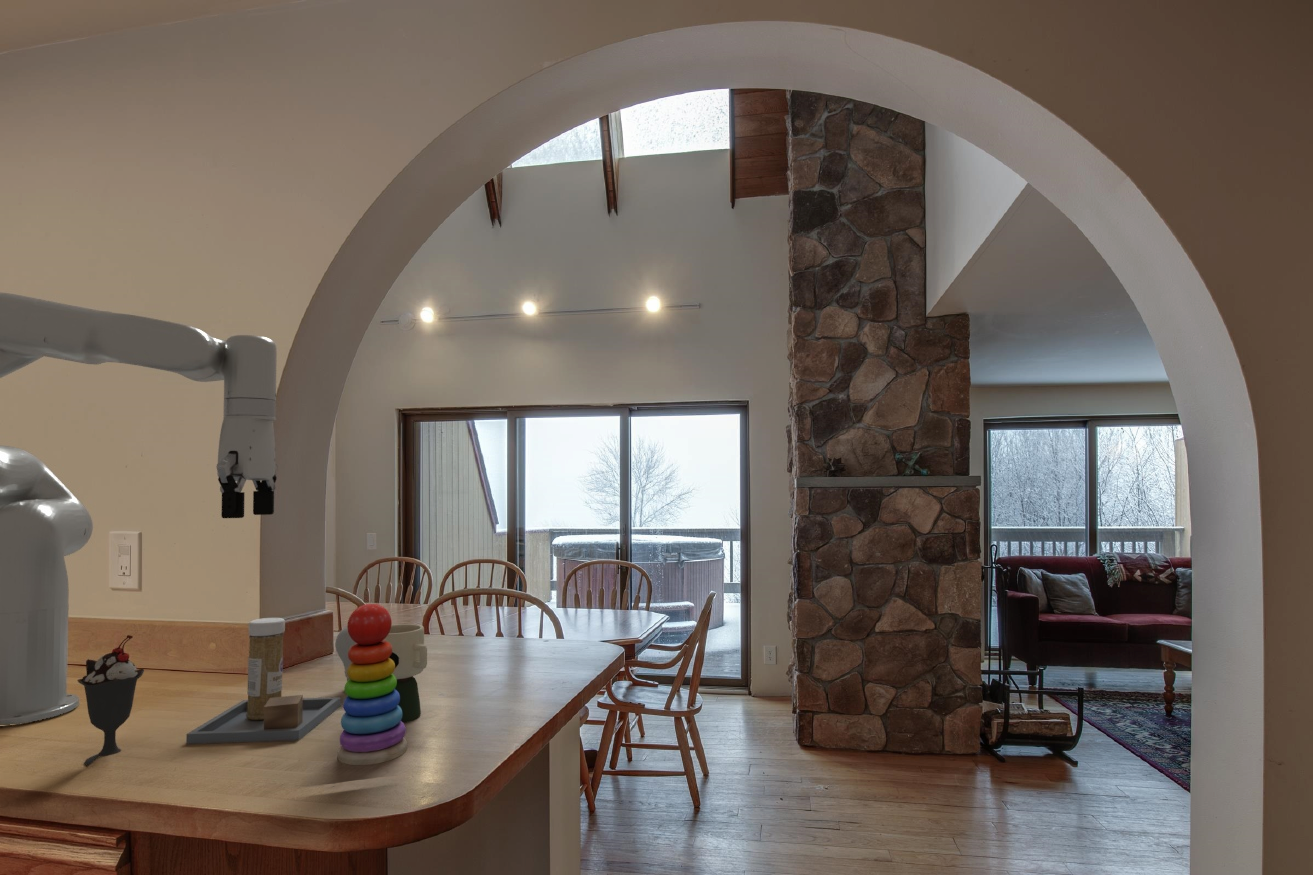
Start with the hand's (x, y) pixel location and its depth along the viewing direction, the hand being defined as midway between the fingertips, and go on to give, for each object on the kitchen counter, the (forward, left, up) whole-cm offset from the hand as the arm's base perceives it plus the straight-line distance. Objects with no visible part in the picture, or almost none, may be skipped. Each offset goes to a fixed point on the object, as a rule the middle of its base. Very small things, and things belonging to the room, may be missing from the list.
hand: (248, 516), depth 119 cm
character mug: (+29, -17, -28) cm, 44 cm away
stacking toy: (+30, -30, -28) cm, 51 cm away
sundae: (-3, -27, -28) cm, 39 cm away
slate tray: (+12, -18, -28) cm, 36 cm away
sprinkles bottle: (+10, -15, -28) cm, 33 cm away
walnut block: (+16, -21, -28) cm, 38 cm away
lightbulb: (+18, -2, -28) cm, 34 cm away
